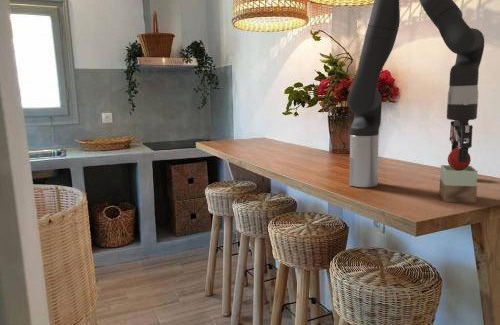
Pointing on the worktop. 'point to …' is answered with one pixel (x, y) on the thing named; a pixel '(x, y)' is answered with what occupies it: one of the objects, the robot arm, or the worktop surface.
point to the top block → (458, 176)
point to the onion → (454, 160)
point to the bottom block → (458, 193)
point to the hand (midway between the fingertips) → (458, 159)
